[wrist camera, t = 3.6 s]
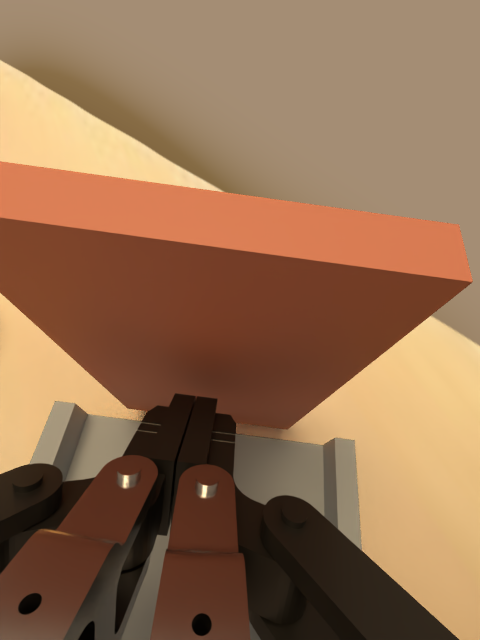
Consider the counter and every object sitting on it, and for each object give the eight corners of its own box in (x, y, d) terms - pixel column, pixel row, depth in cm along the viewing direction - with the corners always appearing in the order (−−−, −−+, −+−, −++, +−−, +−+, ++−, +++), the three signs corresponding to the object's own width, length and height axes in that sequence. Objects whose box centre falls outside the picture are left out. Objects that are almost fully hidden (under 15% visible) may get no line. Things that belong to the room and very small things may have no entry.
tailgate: (287, 429, 19) (473, 282, 5) (127, 408, 19) (-97, 204, 5) (289, 397, 19) (453, 200, 6) (135, 377, 19) (-40, 131, 6)
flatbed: (341, 882, 12) (563, 1496, 5) (-64, 833, 12) (-539, 1381, 4) (329, 453, 20) (404, 413, 12) (82, 420, 20) (0, 359, 12)
